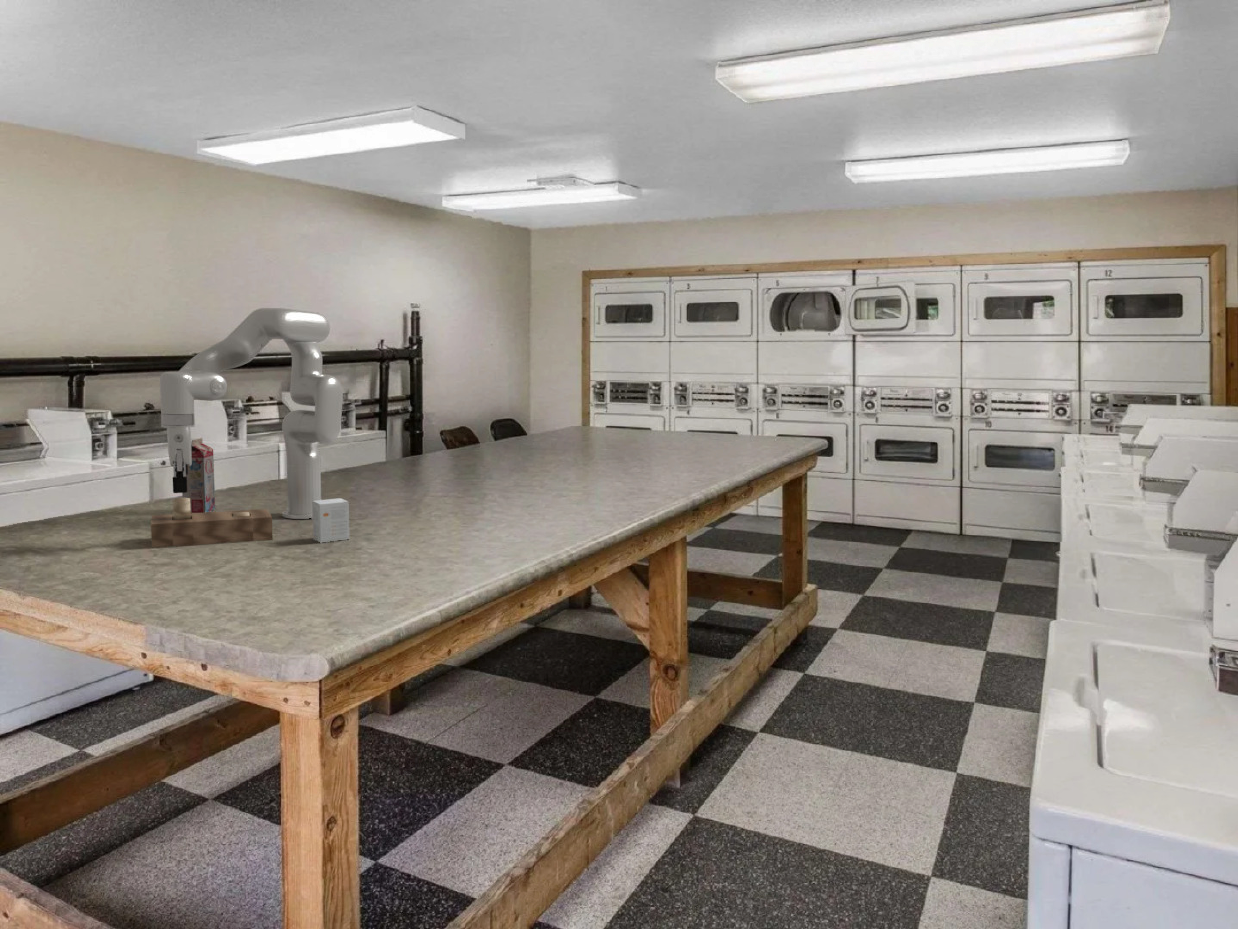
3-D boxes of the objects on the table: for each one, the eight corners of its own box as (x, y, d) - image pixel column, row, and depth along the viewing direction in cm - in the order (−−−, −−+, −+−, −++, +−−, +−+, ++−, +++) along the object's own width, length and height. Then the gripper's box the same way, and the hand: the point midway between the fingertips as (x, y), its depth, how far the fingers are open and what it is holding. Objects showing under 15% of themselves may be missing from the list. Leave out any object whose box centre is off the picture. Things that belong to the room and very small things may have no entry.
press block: (267, 530, 239) (267, 509, 238) (272, 539, 229) (272, 517, 228) (152, 538, 226) (151, 515, 225) (151, 548, 216) (150, 524, 215)
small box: (341, 536, 235) (341, 497, 234) (349, 540, 231) (349, 501, 229) (312, 539, 230) (311, 500, 229) (319, 543, 226) (319, 503, 225)
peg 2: (249, 532, 233) (248, 511, 232) (250, 535, 230) (250, 514, 229) (233, 533, 231) (232, 512, 231) (234, 536, 228) (233, 515, 227)
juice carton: (215, 509, 265) (212, 438, 262) (205, 514, 258) (202, 440, 255) (193, 509, 265) (190, 437, 262) (183, 513, 258) (180, 440, 255)
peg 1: (190, 519, 226) (189, 497, 225) (191, 522, 223) (190, 499, 222) (173, 520, 224) (172, 498, 224) (173, 523, 221) (172, 500, 220)
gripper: (195, 423, 215) (197, 496, 217) (193, 418, 228) (195, 487, 231) (161, 423, 212) (163, 497, 214) (161, 418, 225) (163, 488, 227)
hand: (180, 492), depth 222 cm, fingers closed
